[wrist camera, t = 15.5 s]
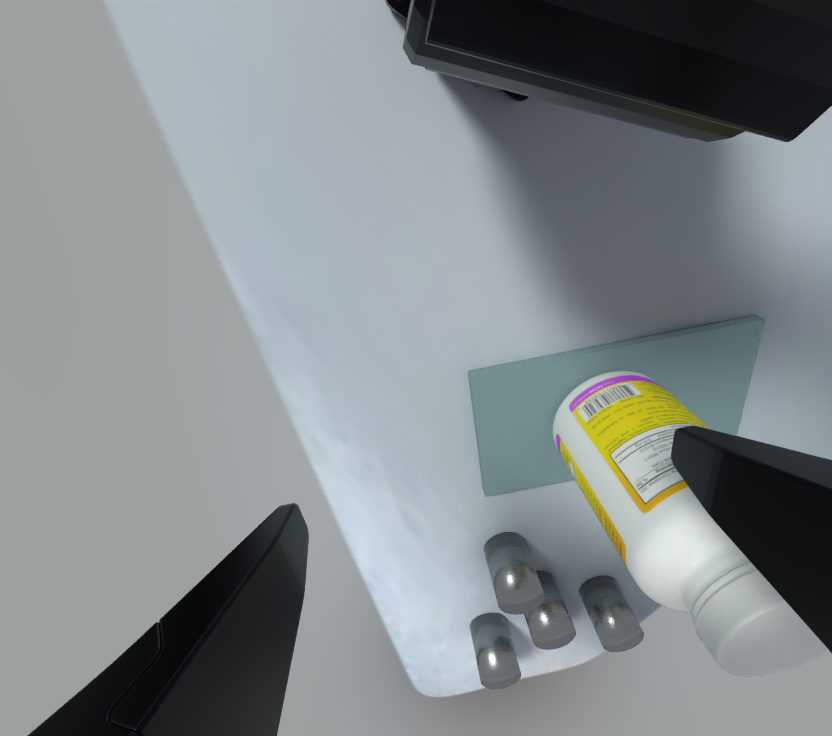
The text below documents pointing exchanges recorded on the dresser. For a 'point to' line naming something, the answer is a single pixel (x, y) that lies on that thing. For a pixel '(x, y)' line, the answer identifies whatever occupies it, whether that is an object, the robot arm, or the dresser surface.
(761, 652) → the supplement bottle
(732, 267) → the dresser surface
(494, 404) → the rubber mat
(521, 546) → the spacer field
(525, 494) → the dresser surface
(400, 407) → the dresser surface
